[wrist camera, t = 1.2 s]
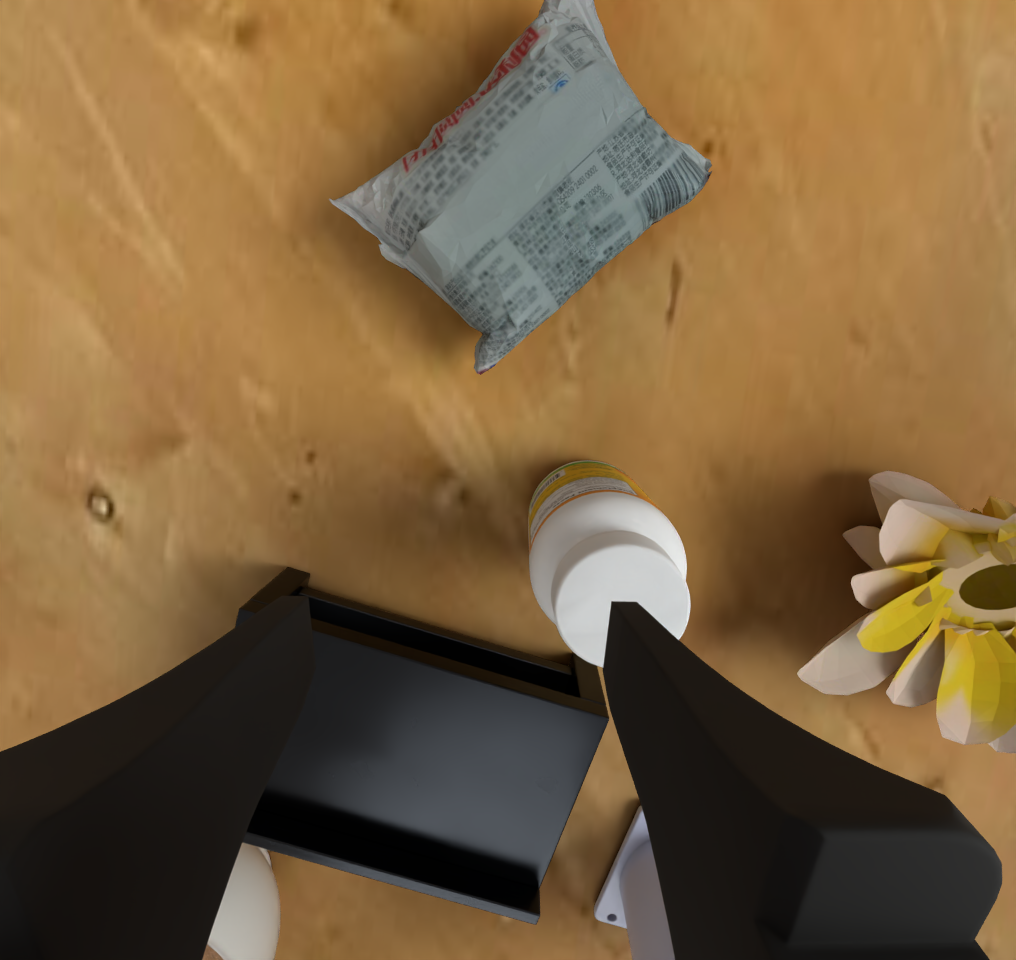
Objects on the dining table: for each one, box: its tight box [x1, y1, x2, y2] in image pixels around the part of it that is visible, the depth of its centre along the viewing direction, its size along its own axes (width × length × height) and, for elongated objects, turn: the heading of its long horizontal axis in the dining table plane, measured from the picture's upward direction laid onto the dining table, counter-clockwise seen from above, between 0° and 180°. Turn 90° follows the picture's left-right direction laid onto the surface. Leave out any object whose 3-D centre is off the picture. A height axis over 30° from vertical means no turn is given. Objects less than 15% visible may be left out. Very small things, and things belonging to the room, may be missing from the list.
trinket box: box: [202, 843, 281, 960], centre depth 25 cm, size 11×11×9 cm
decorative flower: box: [797, 471, 1016, 753], centre depth 20 cm, size 15×11×10 cm
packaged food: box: [329, 0, 712, 375], centre depth 19 cm, size 9×12×5 cm
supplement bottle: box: [528, 460, 690, 667], centre depth 20 cm, size 5×5×10 cm
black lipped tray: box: [235, 567, 609, 925], centre depth 24 cm, size 16×10×6 cm, turn 73°
